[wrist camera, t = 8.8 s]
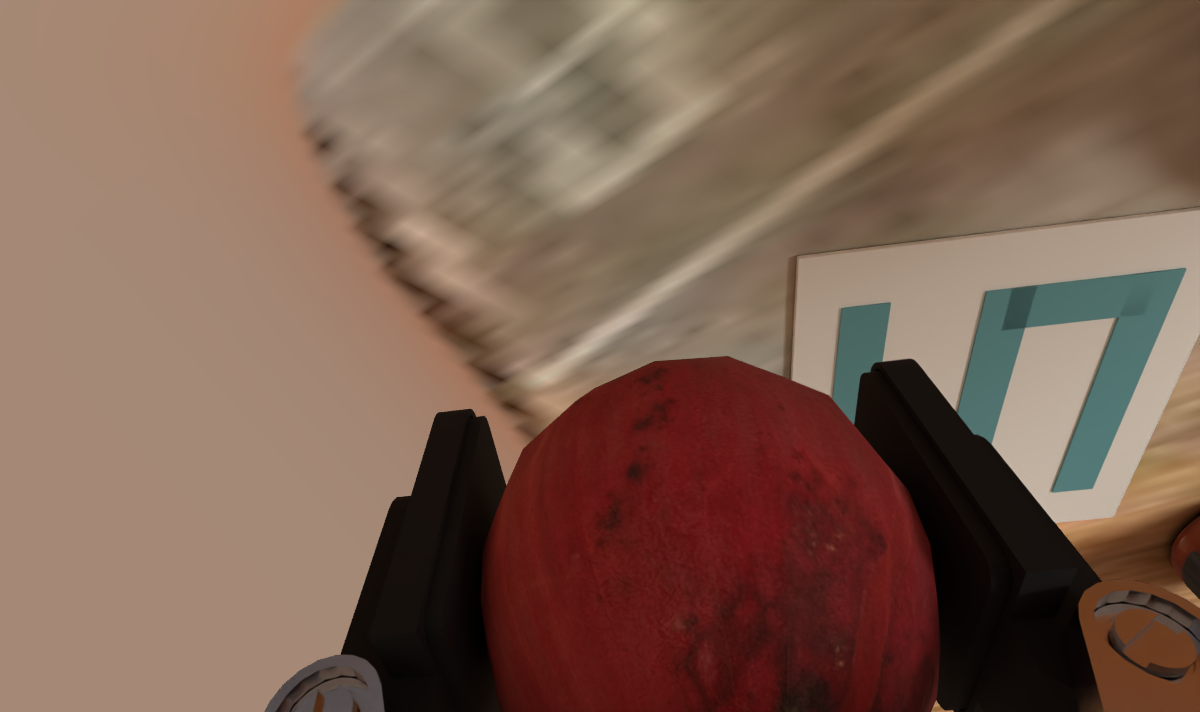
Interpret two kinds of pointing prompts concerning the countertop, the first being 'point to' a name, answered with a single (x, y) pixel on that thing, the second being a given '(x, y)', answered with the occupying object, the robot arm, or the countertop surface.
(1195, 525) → the supplement bottle
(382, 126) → the countertop surface
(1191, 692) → the robot arm
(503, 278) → the countertop surface
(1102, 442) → the letter board
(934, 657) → the onion
